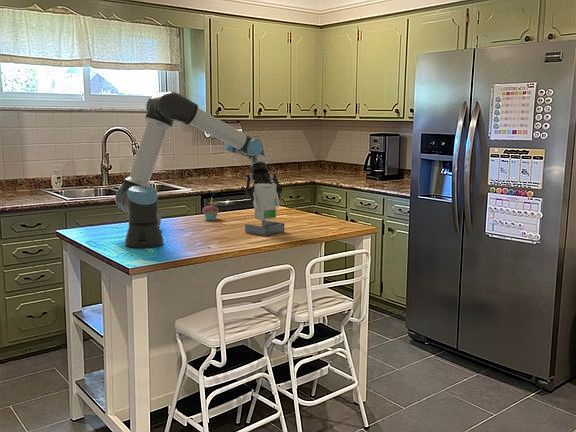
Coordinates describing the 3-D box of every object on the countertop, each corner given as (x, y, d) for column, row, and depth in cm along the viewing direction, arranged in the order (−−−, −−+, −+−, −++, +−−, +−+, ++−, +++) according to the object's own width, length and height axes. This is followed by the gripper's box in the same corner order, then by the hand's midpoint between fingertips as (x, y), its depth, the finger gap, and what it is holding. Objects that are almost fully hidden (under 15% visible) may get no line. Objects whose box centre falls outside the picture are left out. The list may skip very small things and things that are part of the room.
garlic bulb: (154, 231, 259) (153, 210, 257) (138, 230, 261) (137, 208, 259) (165, 227, 267) (164, 206, 266) (149, 226, 270) (148, 205, 268)
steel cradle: (266, 236, 250) (266, 227, 249) (245, 232, 257) (245, 224, 256) (284, 231, 259) (284, 223, 259) (263, 228, 267) (263, 220, 266)
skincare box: (262, 220, 252) (262, 185, 249) (253, 218, 257) (253, 184, 254) (277, 218, 258) (277, 184, 255) (268, 216, 262) (267, 182, 260)
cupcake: (222, 220, 287) (221, 196, 285) (206, 221, 283) (206, 197, 280) (214, 217, 294) (213, 194, 292) (199, 219, 290) (198, 195, 287)
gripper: (280, 171, 271) (289, 209, 259) (234, 172, 265) (241, 211, 253) (283, 160, 265) (292, 199, 253) (236, 161, 259) (243, 201, 247)
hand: (267, 205), depth 253 cm, fingers closed on skincare box, 10 cm apart
